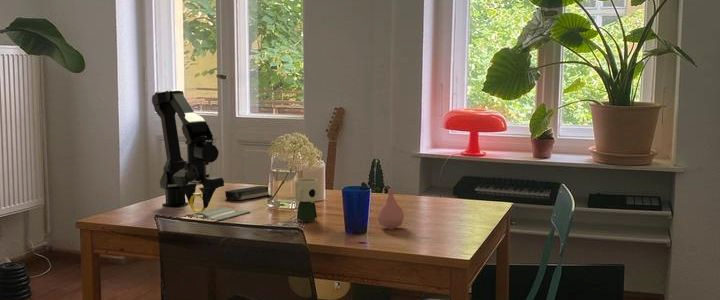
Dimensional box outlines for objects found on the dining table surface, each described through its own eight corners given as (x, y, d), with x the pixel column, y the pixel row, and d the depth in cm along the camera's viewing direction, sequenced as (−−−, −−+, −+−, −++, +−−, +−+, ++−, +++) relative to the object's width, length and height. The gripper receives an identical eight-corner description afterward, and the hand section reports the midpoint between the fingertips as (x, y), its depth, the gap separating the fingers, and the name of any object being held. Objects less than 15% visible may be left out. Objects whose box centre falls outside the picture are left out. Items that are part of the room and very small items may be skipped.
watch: (208, 211, 246) (208, 193, 245) (203, 213, 244) (202, 194, 243) (193, 209, 249) (193, 191, 248) (188, 211, 246) (187, 193, 246)
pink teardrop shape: (385, 224, 231) (385, 185, 230) (408, 227, 227) (408, 187, 226) (373, 229, 225) (373, 189, 223) (396, 232, 221) (396, 192, 219)
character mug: (309, 225, 230) (308, 183, 228) (288, 223, 233) (287, 181, 231) (325, 218, 240) (324, 177, 238) (305, 216, 243) (304, 176, 241)
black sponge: (237, 203, 266) (237, 192, 265) (223, 199, 272) (223, 189, 271) (274, 196, 277) (273, 186, 277) (259, 193, 283) (259, 183, 283)
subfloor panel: (171, 220, 238) (171, 218, 238) (221, 208, 256) (221, 206, 256) (200, 225, 231) (200, 223, 231) (250, 212, 249) (250, 210, 248)
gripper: (157, 159, 243) (159, 207, 245) (198, 164, 232) (200, 214, 234) (183, 155, 252) (185, 202, 254) (224, 160, 241) (226, 208, 243)
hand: (198, 206), depth 246 cm, fingers closed on watch, 6 cm apart
